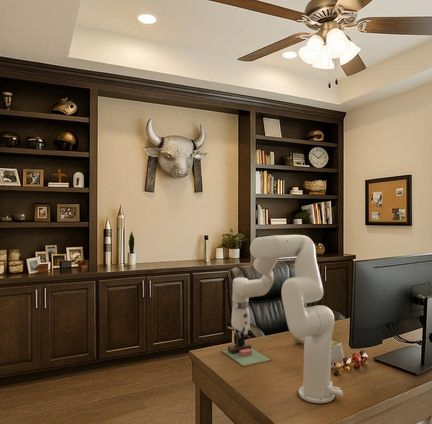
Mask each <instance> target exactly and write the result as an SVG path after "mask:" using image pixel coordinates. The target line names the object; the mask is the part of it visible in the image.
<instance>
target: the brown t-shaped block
mask: <svg viewBox="0 0 432 424" xmlns="http://www.w3.org/2000/svg"><path fill="white" fill-rule="evenodd" d="M242 333H243V332H241V334H242ZM238 337H239V332H236V344H231V345H228V346H227V350H228V352H229V353H231V354H236V353H239V350H244V349H250V350H251V348H252V345H251V344H250V343H248V342H245V345H244V346H238Z"/></svg>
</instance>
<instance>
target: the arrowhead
mask: <svg viewBox="0 0 432 424" xmlns="http://www.w3.org/2000/svg"><path fill="white" fill-rule="evenodd" d="M338 343H339V344H338V345H337V344H335V346H334V348H333V351H332V354H331V362H332V363H331V369H334V368H335V366H334V363H338V362H339V363H342V362H343V360H344V358H345V359H346V356H345V354H344V350H343V343H342V342H338ZM343 366H344V367H345V363H344V364H343V365H342V366H341V367H343ZM335 369H336V368H335Z"/></svg>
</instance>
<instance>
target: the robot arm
mask: <svg viewBox="0 0 432 424" xmlns="http://www.w3.org/2000/svg"><path fill="white" fill-rule="evenodd" d="M316 250H317V249H316V245H315V243H314V241H313V240H312V239H311V238H310V237H309V236H307V235H303V234H279V235H278V234H277V235H276V234H275V235H268V236H258V237H255V238H254V239H253V240H252V241H251V243H250V246H249V252H250V254H251V256H252V258H254V260H253V268H254V269H255V271H256V272H258V273H259V274H260V275H261V277H260V278H257V279H256V278H255V279H248V278H247V277H241V276H240V277H235V278H233V280H232V293H231V294H232V296H231V297H232V299H231V300H232V301H231V307H232V309H231V317H230V318H231V320H230V322H231V327H232V329H233V335H234V345H236V332H239V337H238V346H244V345H245V343H246V335H248V334H249V331H250V330H251V317H250V316H251V315H250V310H249V305H250V304H249V302H250V301H249V299H250V298H254V297H261V296H265V295H266V294H268V292H270V290H271V288H272V286H273V284H274V279H275V277H274V271H273V269H274V268H275V266H276V265H277V263H278V261H279V260H280V259H282V258H295V262H294V272H295V277H293V276H292V277H289V278H287V279H285V280H284V282H283V283H282V286H281V291H280V292H281V293H280V295H281V301H282V305H283V310H284V315H285V320H286V324H287V328H288V331H289V332H290V334H291V335H292V337H293V336H295V337H298V338H302V337H306V339H305V342H304V343H303V371H302V372H303V375H302V376H303V377H302V386H300V388H299V389H298V396H299V397H300V398H301V399H302V400H304V401H305V402H307V403H308V402H309V403H313V404H327V403H330V402H332V401H333V400H334V399H335V396H337V397H343V395H344V390H341V387H338V386H334V385H333V381H331V375H332V374H331V369H332V368H331V365H332V363H331V343H332V342H331V340H333V332H334V328H335V315H334V313H333V310H331V308H329V307H328V306H326V305H322V304H321V305H319V304H318V305H312V306H311V305H310V306H307V307H305V304H309V303H310V304H311V303H315V302H318V301H320V300H321V299H323V296H324V287H323V282H322V278H321V274H320V270H319V265H318V262H317V251H316ZM241 332H243V333H242V334H241Z"/></svg>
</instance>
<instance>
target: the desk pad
mask: <svg viewBox="0 0 432 424" xmlns="http://www.w3.org/2000/svg"><path fill="white" fill-rule="evenodd" d="M251 350H252V355H250V356H245V357H242V356H240V355H239V353H236V354H231V353H229V352H228V349H222V352H223V353H224V354H225V355H227V356H228V357H230V358H231V359H232V360H234V361H235V362H237V363H238V364H240V365H241V366H242V367H245V366H249V365H253V364H259V363H262V362H266V361H270V360H272V359H271V358H269V357H267V356H266V355H264V354H263V353H261V352H259V351H258V350H256V349H254V348H252V347H251Z"/></svg>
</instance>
